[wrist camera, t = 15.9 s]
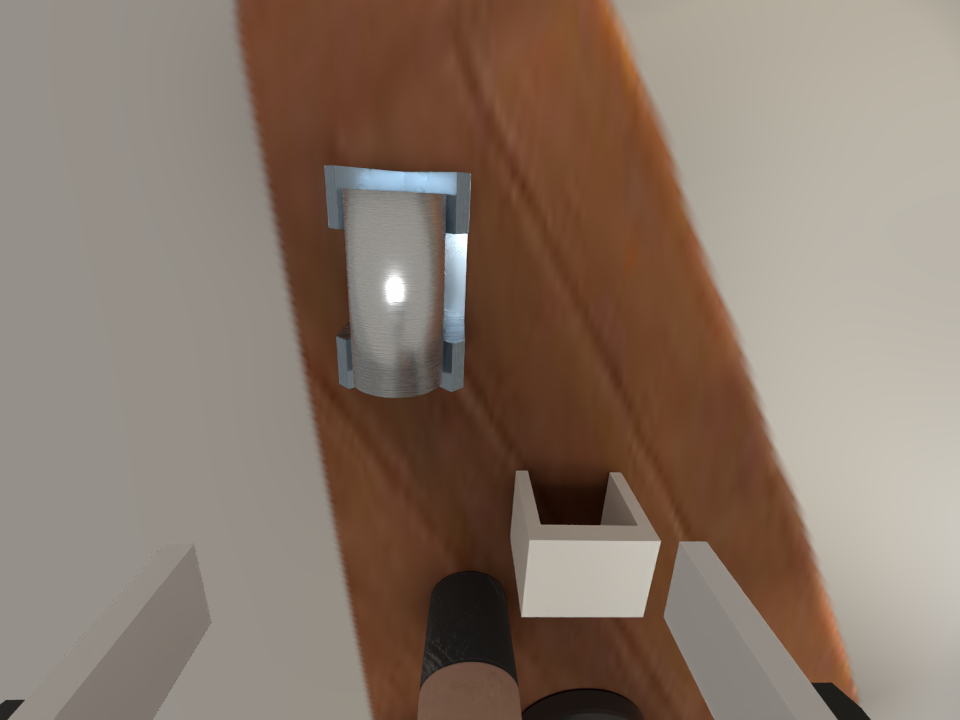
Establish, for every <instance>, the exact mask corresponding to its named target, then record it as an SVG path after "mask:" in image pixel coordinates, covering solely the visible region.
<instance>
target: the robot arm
mask: <svg viewBox="0 0 960 720" xmlns="http://www.w3.org/2000/svg"><path fill="white" fill-rule="evenodd" d="M664 619H665V621H666V623H667V625H668V627H669V629H670V631H671V633H672V635H673V637H674V639H675V641H676V643H677V645H678V647H679V649H680V651H681V653H682V655H683V657H684V659H685V661H686V663H687V666H688V668H689V670H690V672H691V674H692V676H693V678H694V680H695V682H696V684H697V686H698V688H699V690H700V692H701V694H702V696H703V698H704V700H705V702H706V704H707V706H708V708H709V710H710V712H711V714H712V716H713V718H714V720H870V718H869V717H868V716H867V715H866V713H865V712H864V711H863V710H862V708H861V707H859V706H858V705H857V704H856V703H855V702H854V701H852V700H851V699H850V698H849V697H848V696H847V695H845V694H844V693H843V692H842V691H841V690H840V689H838V688H837V687H836V686H835V685H834V684H833V683H810V682H809V680H808V679H807V677H806V676H805V675H804V673H803V672H802V671H801V669H800V668H799V667H798V665H797V664H796V663H795V661H794V660H793V658H792V657H791V656H790V654H789V653H788V652H787V650H786V649H785V648H784V646H783V645H782V644H781V642H780V641H779V639H778V638H777V637H776V635H775V634H774V633H773V631H772V630H771V629H770V627H769V626H768V625H767V623H766V622H765V620H764V619H763V618H762V616H761V615H760V614H759V612H758V611H757V610H756V608H755V607H754V605H753V604H752V603H751V601H750V600H749V599H748V597H747V596H746V595H745V593H744V592H743V591H742V589H741V588H740V586H739V585H738V584H737V582H736V581H735V580H734V578H733V577H732V576H731V574H730V573H729V572H728V570H727V569H726V567H725V566H724V565H723V563H722V562H721V561H720V559H719V558H718V557H717V555H716V554H715V553H714V551H713V550H712V548H711V547H710V546H709V544H708V543H707V542H679V547H678V551H677V556H676V561H675V566H674V570H673V575H672V580H671V584H670V589H669V594H668V598H667V603H666V608H665V612H664ZM210 624H211V618H210V614H209V609H208V605H207V600H206V596H205V591H204V586H203V582H202V577H201V573H200V569H199V564H198V559H197V555H196V550H195V546H194V544H164V545H163V546H162V547H161V548H160V549H159V551H157V553H156V554H155V555H154V556H153V557H152V558H151V559H150V560H149V562H148V563H147V564H146V565H145V566H144V567H143V568H142V569H141V571H140V572H139V573H138V574H137V575H136V576H135V577H134V578H133V580H132V581H131V582H130V583H129V584H128V585H127V586H126V588H124V590H123V591H122V592H121V593H120V594H119V595H118V596H117V597H116V599H115V600H114V601H113V602H112V603H111V604H110V606H108V608H107V609H106V610H105V611H104V612H103V613H102V614H101V615H100V617H99V618H98V619H97V620H96V621H95V622H94V624H92V626H91V627H90V628H89V629H88V630H87V631H86V632H85V634H84V635H83V636H82V637H81V638H80V639H79V640H78V641H77V642H76V644H75V645H74V646H73V647H72V648H71V649H70V650H69V652H67V654H66V655H65V656H64V657H63V658H62V659H61V660H60V661H59V663H58V664H57V665H56V666H55V667H54V668H53V669H52V671H51V672H50V673H49V674H48V675H47V676H46V677H45V678H44V680H43V681H42V682H41V683H40V684H39V685H38V686H37V687H36V688H35V690H34V691H33V692H32V693H31V694H30V695H29V696H28V697H27V698H26V700H5V701H4V702H3V703H2V704H0V720H153V718H154V716H155V715H156V713H157V711H158V710H159V708H160V706H161V705H162V703H163V702H164V700H165V698H166V697H167V695H168V693H169V692H170V690H171V688H172V687H173V685H174V684H175V682H176V680H177V679H178V677H179V675H180V674H181V672H182V670H183V669H184V667H185V665H186V664H187V662H188V660H189V659H190V657H191V655H192V654H193V652H194V650H195V649H196V647H197V645H198V644H199V642H200V641H201V639H202V637H203V636H204V634H205V632H206V631H207V629H208V627H209V626H210ZM522 720H644V719H643V716H642V714H641V712H640V711H639V710H638V708H637V707H636V706H635V705H634V704H632V703H631V702H630V701H628V700H627V699H625V698H623V697H621V696H618V695H616V694H612V693H609V692H604V691H597V690H578V691H570V692H565V693H561V694H557V695H554V696H551V697H549V698H546V699H544V700H542V701H540V702H538V703H536V704H535V705H533V706H532V707H530V708H529V709H528V710H526V711H525V712H524V713H523V714H522Z"/></svg>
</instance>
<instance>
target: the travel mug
mask: <svg viewBox="0 0 960 720" xmlns="http://www.w3.org/2000/svg"><path fill="white" fill-rule="evenodd" d="M417 720H522V715H521V706H520V696H519V689H518V681H517V674H516V667H515V660H514V653H513V646H512V639H511V632H510V626H509V619H508V612H507V605H506V600H505V595H504V592H503V589H502V588H501V586H500V585H499V583H498V582H497V581H496V580H494V579H493V578H491V577H489V576H488V575H485V574H482V573H478V572H460V573H456V574H453V575H450V576H448V577H446V578H445V579H443V580H442V581H441V582H439V583H438V585H437V586H436V587H435V589H434V590H433V593H432V595H431V600H430V607H429V614H428V623H427V632H426V641H425V649H424V658H423V667H422V675H421V684H420V694H419V705H418V718H417Z"/></svg>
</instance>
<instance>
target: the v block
mask: <svg viewBox="0 0 960 720" xmlns="http://www.w3.org/2000/svg"><path fill="white" fill-rule="evenodd" d="M324 168H325V183H326V197H327V211H328V226H329V228H334V229H344V212H343V195H342V189H362V190H382V191H402V192H422V193H440V194H446V235H445V288H444V342H443V381H442V384H441V385H440V386H439V387H442V388H444V389H446V390H448V391H451V392H452V391H455V390H458V389H460V388H463V380H464V352H465V323H464V314H465V285H466V257H467V234H469V215H470V187H471V173H462V172H399V171H388V170H377V169H366V168H355V167H344V166H324ZM336 341H337V356H338V370H339V384H340V385H342V386H344V387H346V388H347V389H351V388H354V387H355V386H354V384H353V369H352V352H351V334H350V321H349V323H348V324H347V325H346V326H345V327H344V328H343V329H342V330H341V331H340V333H339V334H338V335H337V336H336Z"/></svg>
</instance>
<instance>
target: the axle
mask: <svg viewBox="0 0 960 720" xmlns="http://www.w3.org/2000/svg"><path fill="white" fill-rule="evenodd" d="M342 195H343V212H344V230H345V247H346V264H347V282H348V299H349V317H350V334H351V352H352V369H353V384H354V386H355V387H356V388H357V389H358V390H360V391H362V392H364V393H366V394H369V395H373V396H378V397H386V398H404V397H413V396H418V395H422V394H426V393H428V392H431V391H433V390H435V389H437V388H438V387H439V386H440V385H441V384H442V381H443V342H444V288H445V235H446V194H440V193H422V192H402V191H382V190H362V189H342Z"/></svg>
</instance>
